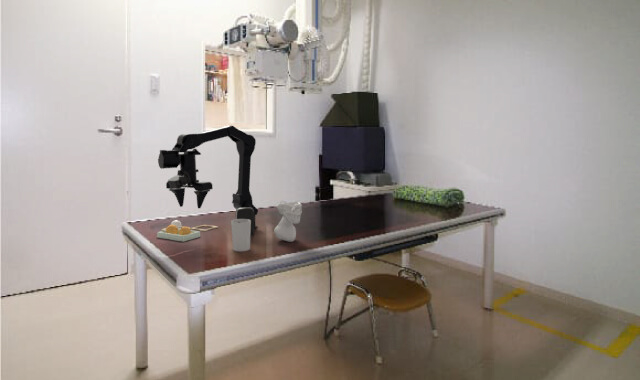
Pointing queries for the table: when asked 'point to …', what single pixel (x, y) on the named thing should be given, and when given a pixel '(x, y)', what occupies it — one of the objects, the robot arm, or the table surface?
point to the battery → (246, 216)
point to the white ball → (176, 223)
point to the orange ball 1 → (172, 229)
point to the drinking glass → (241, 234)
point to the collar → (204, 226)
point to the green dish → (178, 237)
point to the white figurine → (288, 220)
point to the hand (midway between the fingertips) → (190, 207)
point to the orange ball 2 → (184, 231)
